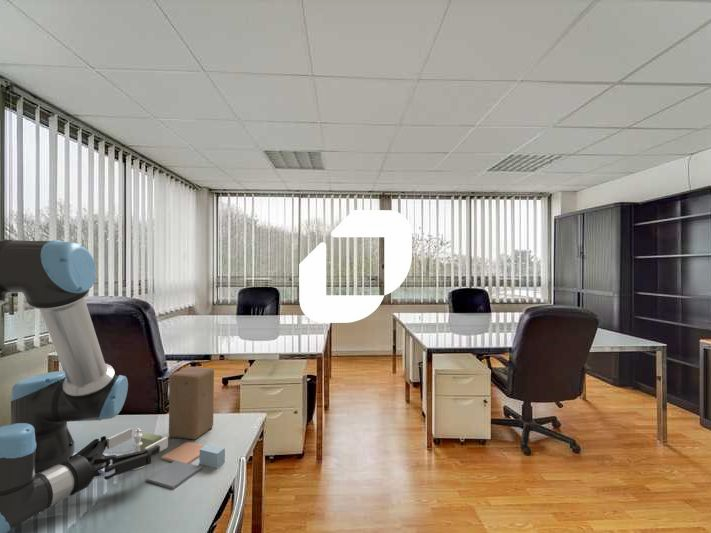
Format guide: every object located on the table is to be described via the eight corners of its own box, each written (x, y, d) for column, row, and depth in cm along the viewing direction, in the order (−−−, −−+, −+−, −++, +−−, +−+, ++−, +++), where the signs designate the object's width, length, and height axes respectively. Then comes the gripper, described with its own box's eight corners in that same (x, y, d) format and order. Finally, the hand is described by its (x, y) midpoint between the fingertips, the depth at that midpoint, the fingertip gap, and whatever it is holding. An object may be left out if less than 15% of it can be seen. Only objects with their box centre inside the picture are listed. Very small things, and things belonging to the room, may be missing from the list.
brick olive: (137, 450, 104) (137, 436, 104) (146, 445, 107) (146, 432, 107) (152, 454, 102) (152, 440, 102) (161, 449, 105) (161, 435, 105)
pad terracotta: (161, 458, 100) (161, 456, 100) (186, 443, 108) (186, 441, 108) (186, 465, 97) (186, 463, 97) (210, 449, 105) (210, 447, 105)
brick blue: (199, 464, 98) (199, 449, 98) (207, 458, 100) (207, 444, 100) (217, 468, 96) (217, 453, 96) (224, 462, 98) (224, 448, 98)
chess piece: (145, 468, 95) (145, 431, 95) (124, 471, 93) (124, 433, 93) (150, 458, 100) (150, 423, 100) (130, 461, 98) (130, 425, 98)
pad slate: (146, 480, 89) (146, 478, 89) (175, 462, 98) (175, 460, 98) (173, 489, 86) (173, 486, 86) (201, 469, 95) (201, 467, 95)
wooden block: (195, 441, 110) (196, 376, 110) (167, 437, 112) (168, 374, 112) (214, 426, 120) (215, 367, 120) (188, 423, 122) (189, 365, 122)
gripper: (28, 484, 84) (116, 442, 104) (102, 510, 75) (182, 459, 95) (29, 452, 84) (116, 417, 104) (103, 475, 75) (183, 431, 95)
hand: (148, 437), depth 100 cm, fingers open, 13 cm apart
